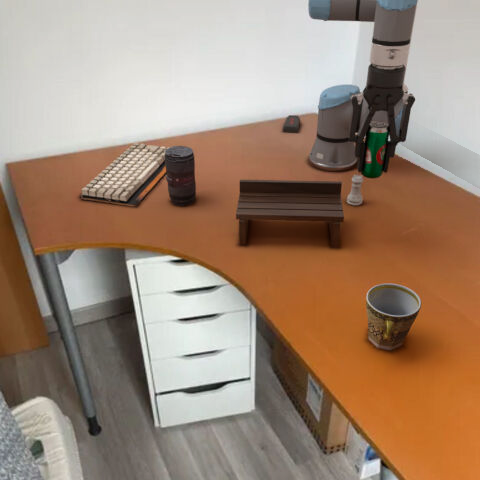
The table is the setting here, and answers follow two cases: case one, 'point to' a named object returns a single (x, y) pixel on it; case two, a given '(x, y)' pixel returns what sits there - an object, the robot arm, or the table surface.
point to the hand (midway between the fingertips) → (371, 169)
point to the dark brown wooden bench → (290, 203)
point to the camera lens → (180, 174)
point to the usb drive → (291, 124)
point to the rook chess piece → (355, 191)
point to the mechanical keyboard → (128, 176)
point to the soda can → (375, 149)
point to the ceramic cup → (390, 314)
